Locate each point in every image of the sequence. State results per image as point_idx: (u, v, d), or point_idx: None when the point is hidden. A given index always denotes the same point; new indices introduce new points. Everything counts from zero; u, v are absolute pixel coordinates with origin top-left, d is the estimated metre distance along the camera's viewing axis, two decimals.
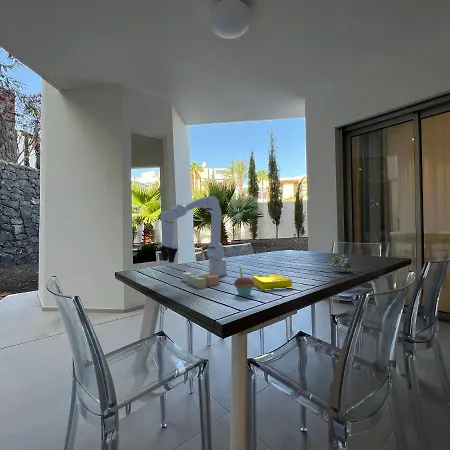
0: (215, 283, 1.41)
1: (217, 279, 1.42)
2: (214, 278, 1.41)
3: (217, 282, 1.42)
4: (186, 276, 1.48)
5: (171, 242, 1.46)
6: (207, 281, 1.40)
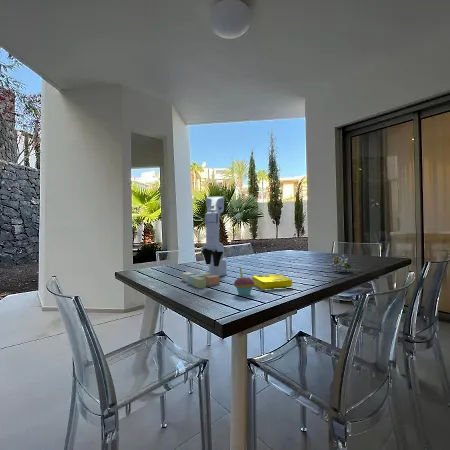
0: (215, 283, 1.41)
1: (217, 279, 1.42)
2: (214, 278, 1.41)
3: (217, 282, 1.42)
4: (186, 276, 1.48)
5: (216, 245, 1.40)
6: (207, 281, 1.40)
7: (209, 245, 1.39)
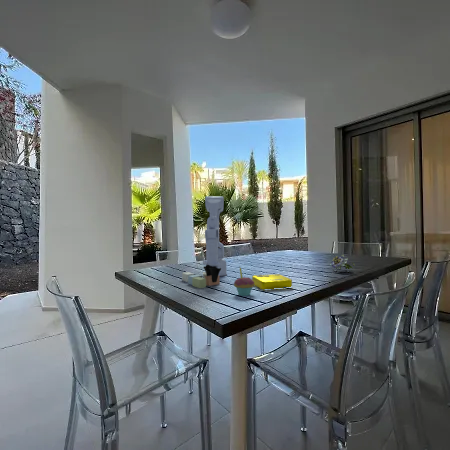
0: (215, 283, 1.41)
1: (217, 279, 1.42)
2: None
3: (217, 282, 1.42)
4: (186, 276, 1.48)
5: (216, 261, 1.40)
6: (207, 281, 1.40)
7: (209, 261, 1.39)
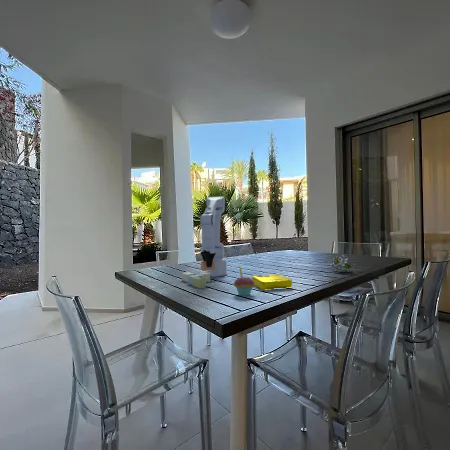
0: (210, 268, 1.42)
1: (212, 264, 1.43)
2: None
3: (212, 267, 1.43)
4: (186, 276, 1.48)
5: (210, 246, 1.41)
6: (202, 266, 1.42)
7: (204, 247, 1.41)
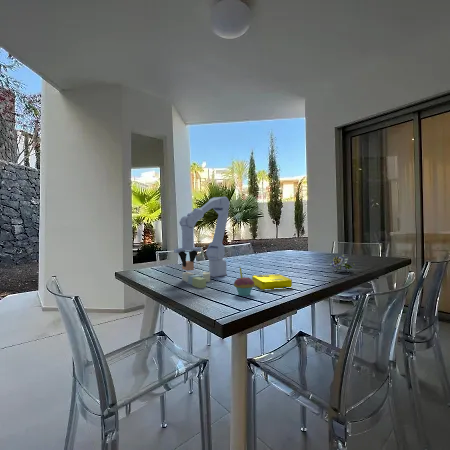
0: (185, 268, 1.49)
1: (186, 265, 1.48)
2: None
3: (186, 268, 1.48)
4: (186, 276, 1.48)
5: (183, 247, 1.48)
6: None
7: None
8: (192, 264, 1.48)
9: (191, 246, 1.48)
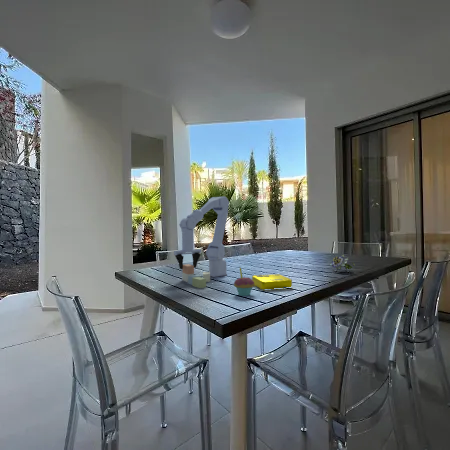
0: (185, 272, 1.49)
1: (186, 269, 1.48)
2: (185, 267, 1.49)
3: (186, 271, 1.48)
4: (186, 276, 1.48)
5: (183, 249, 1.48)
6: None
7: None
8: (192, 268, 1.48)
9: (191, 248, 1.48)
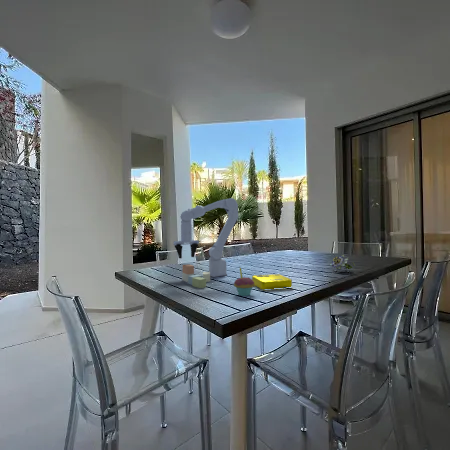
0: (185, 272, 1.49)
1: (186, 269, 1.48)
2: (185, 267, 1.49)
3: (186, 271, 1.48)
4: (186, 276, 1.48)
5: (182, 240, 1.59)
6: None
7: None
8: (192, 268, 1.48)
9: (189, 239, 1.59)
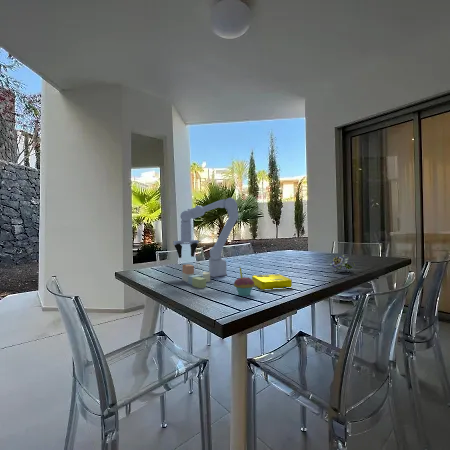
0: (185, 272, 1.49)
1: (186, 269, 1.48)
2: (185, 267, 1.49)
3: (186, 271, 1.48)
4: (186, 276, 1.48)
5: (182, 239, 1.61)
6: None
7: None
8: (192, 268, 1.48)
9: (189, 239, 1.61)
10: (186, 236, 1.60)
